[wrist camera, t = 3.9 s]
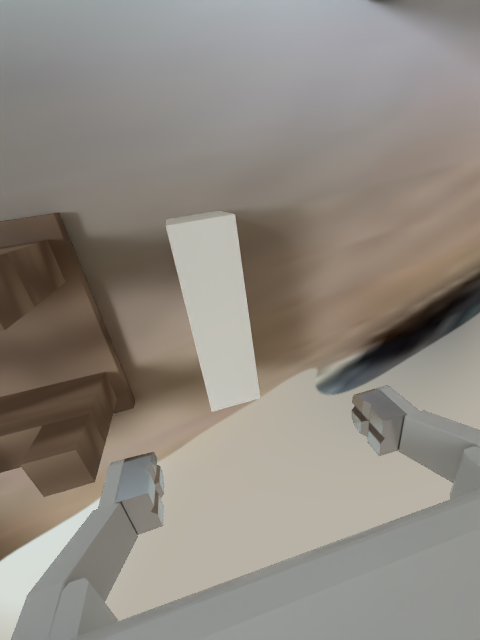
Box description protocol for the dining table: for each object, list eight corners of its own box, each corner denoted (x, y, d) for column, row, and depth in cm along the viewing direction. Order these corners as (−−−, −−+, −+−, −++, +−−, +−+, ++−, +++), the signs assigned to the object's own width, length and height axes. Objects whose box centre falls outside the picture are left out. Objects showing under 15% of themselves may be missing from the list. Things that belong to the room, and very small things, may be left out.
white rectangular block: (167, 219, 20) (165, 225, 15) (218, 210, 21) (234, 214, 16) (203, 368, 26) (211, 411, 21) (242, 358, 27) (260, 398, 22)
